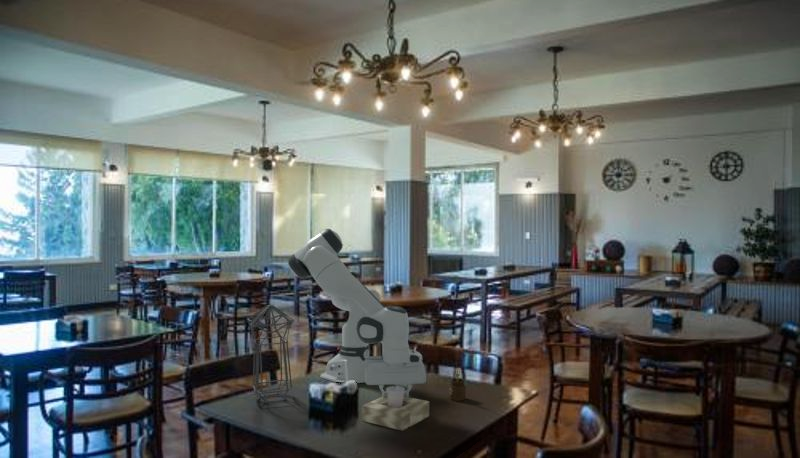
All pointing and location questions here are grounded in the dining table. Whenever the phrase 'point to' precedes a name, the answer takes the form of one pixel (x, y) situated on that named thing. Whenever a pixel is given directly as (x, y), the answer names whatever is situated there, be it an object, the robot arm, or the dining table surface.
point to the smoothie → (395, 396)
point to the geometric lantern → (270, 344)
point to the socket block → (395, 413)
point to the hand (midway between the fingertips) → (395, 397)
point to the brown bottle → (457, 388)
